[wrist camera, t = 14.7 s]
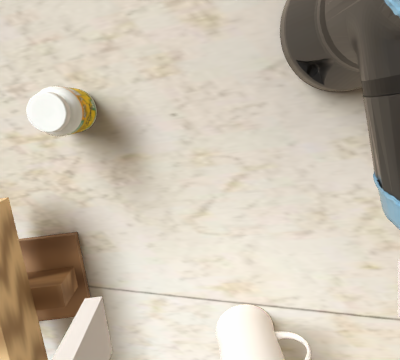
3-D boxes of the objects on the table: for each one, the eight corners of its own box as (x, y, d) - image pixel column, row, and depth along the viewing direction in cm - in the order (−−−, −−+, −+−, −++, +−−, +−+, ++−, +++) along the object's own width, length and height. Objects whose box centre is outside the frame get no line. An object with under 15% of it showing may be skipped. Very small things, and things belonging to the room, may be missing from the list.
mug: (290, 293, 50) (320, 350, 39) (298, 344, 52) (330, 413, 40) (210, 310, 51) (216, 371, 39) (221, 359, 52) (231, 433, 41)
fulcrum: (-25, 244, 47) (-56, 264, 42) (77, 232, 47) (61, 249, 42) (-4, 322, 50) (-30, 351, 44) (93, 310, 50) (80, 337, 44)
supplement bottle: (63, 81, 43) (28, 75, 34) (104, 99, 44) (80, 97, 35) (49, 122, 44) (12, 126, 35) (89, 138, 45) (63, 147, 36)
